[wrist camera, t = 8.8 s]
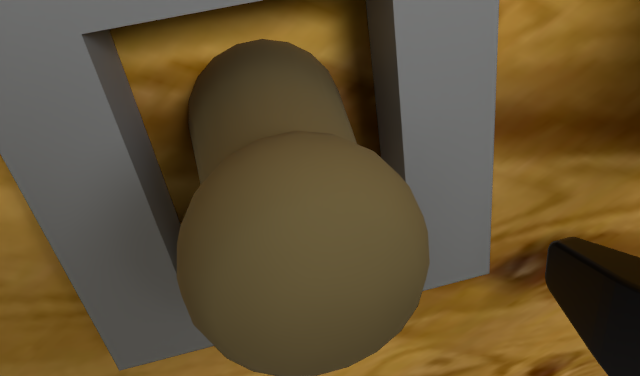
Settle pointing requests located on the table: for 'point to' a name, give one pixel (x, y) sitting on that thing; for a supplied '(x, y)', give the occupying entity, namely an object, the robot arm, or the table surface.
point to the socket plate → (147, 180)
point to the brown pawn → (292, 220)
